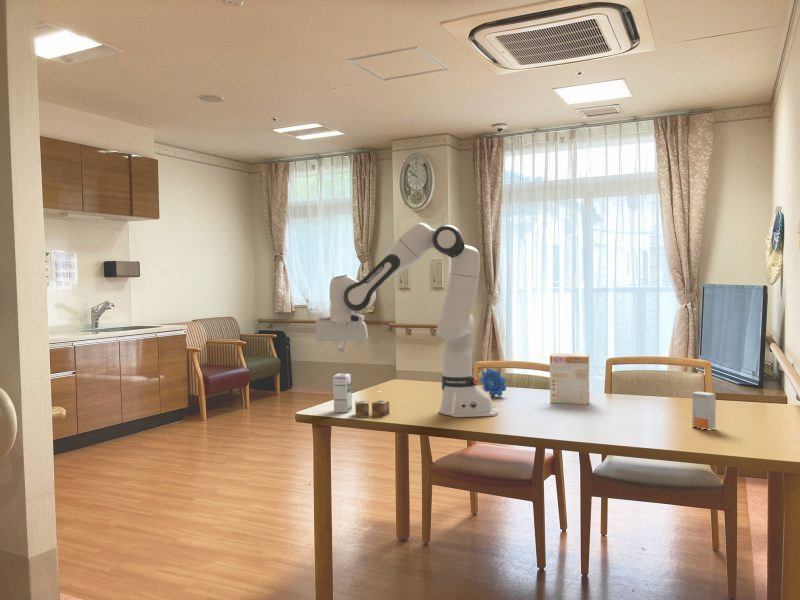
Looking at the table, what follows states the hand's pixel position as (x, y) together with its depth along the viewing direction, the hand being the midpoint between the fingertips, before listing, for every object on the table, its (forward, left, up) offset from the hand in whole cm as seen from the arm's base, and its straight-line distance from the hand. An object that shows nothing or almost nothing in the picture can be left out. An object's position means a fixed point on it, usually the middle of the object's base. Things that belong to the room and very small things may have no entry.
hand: (342, 352), depth 254 cm
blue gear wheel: (-59, -32, -23) cm, 71 cm away
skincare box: (-128, +22, -23) cm, 132 cm away
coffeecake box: (-90, -21, -23) cm, 95 cm away
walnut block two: (-16, +6, -23) cm, 29 cm away
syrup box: (0, 0, -23) cm, 23 cm away
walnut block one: (-9, +7, -23) cm, 26 cm away
